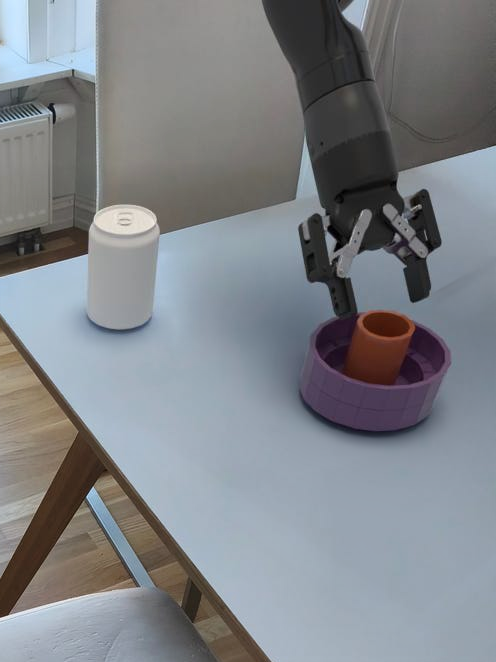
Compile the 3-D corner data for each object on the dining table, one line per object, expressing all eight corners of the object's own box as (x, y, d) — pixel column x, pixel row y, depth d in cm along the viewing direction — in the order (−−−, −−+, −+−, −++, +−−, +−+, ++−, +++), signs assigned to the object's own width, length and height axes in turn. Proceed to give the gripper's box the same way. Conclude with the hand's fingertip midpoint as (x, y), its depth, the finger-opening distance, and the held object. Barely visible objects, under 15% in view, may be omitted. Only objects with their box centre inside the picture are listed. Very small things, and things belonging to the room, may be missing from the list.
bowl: (352, 345, 103) (366, 297, 99) (458, 400, 96) (479, 352, 91) (271, 393, 98) (281, 345, 93) (376, 455, 91) (394, 406, 86)
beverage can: (83, 332, 107) (86, 235, 98) (89, 297, 112) (92, 201, 103) (150, 335, 106) (159, 237, 97) (153, 299, 111) (162, 203, 102)
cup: (330, 378, 98) (348, 312, 92) (379, 372, 98) (401, 306, 92) (349, 408, 94) (370, 342, 88) (400, 402, 95) (424, 336, 89)
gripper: (307, 141, 83) (346, 313, 85) (435, 115, 86) (470, 282, 88) (268, 177, 90) (304, 335, 92) (386, 151, 93) (419, 305, 95)
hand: (385, 309), depth 90 cm, fingers open, 8 cm apart
